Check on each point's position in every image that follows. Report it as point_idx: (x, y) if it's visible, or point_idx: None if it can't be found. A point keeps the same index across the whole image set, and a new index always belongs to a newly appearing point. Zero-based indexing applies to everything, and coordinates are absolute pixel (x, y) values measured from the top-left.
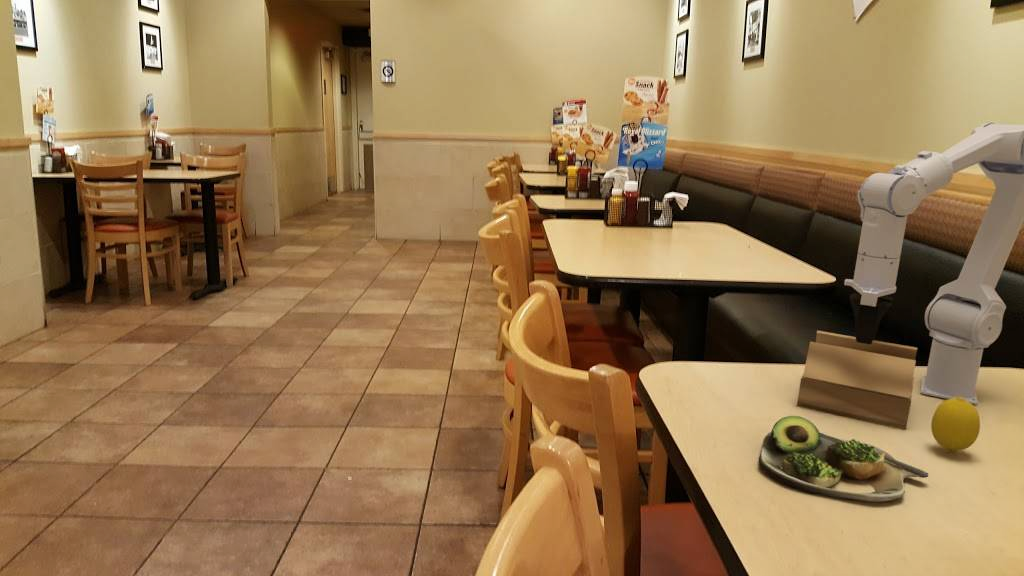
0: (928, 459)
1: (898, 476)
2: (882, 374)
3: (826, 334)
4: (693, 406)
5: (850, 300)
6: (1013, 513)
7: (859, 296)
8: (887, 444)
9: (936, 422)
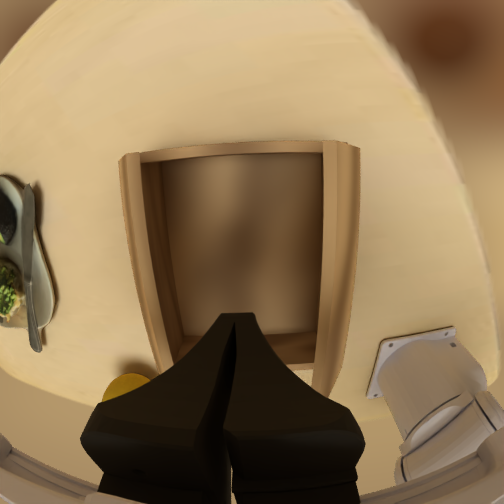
0: (101, 355)
1: (20, 325)
2: (154, 350)
3: (325, 181)
4: (57, 38)
5: (97, 413)
6: (62, 396)
7: (172, 476)
8: (103, 314)
9: (107, 389)
